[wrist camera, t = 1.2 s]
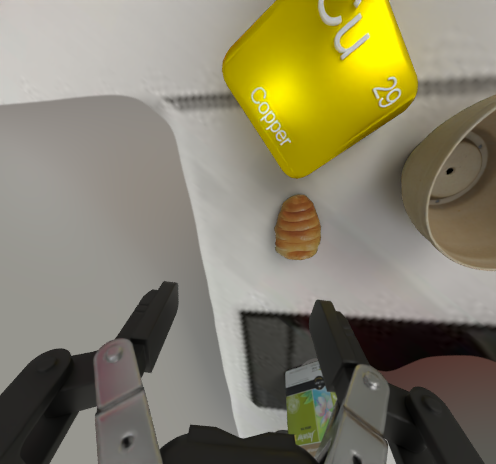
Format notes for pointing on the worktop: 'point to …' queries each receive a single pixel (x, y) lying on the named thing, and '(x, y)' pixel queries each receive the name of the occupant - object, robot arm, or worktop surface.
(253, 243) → the worktop surface
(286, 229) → the pastry
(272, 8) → the element tile
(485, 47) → the worktop surface
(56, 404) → the robot arm
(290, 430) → the tea box
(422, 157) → the planter bowl
